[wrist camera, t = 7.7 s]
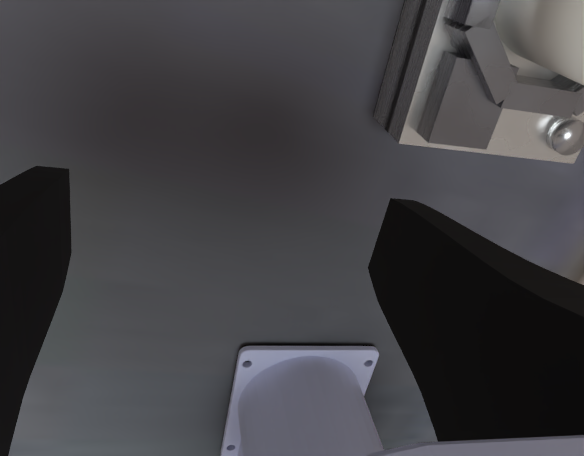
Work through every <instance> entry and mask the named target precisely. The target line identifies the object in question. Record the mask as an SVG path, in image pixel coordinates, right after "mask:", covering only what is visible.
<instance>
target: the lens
mask: <svg viewBox="0 0 584 456" xmlns="http://www.w3.org/2000/svg"><path fill="white" fill-rule="evenodd" d="M495 20H496V25H497V30H498V32H499V35H500V37H501V39H502V41H503V43H504V44H505V45H506V46H507V48H508V49H510V50H511V51H512V52H513V53H515V54H517V55H518V56H520V57H523V58H525V59H527V60H529V61H531V62H534V63H536V64H538V65H540V66H542V67H545V68H547V69H549V70H551V71H553V72H556V73H558V74H560V75H562V76H564V77H567V78H569V79H571V80H573V81H575V82H578V83H580V84H582V85H584V0H501V1H500V3H499V6H498V9H497V12H496V15H495Z"/></svg>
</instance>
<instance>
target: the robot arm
mask: <svg viewBox="0 0 584 456" xmlns="http://www.w3.org/2000/svg"><path fill="white" fill-rule="evenodd" d="M70 256H71V221H70V185H69V169H64V168H53V167H42V166H36V167H33V168H31V169H29V170H27V171H25V172H23V173H21V174H19V175H17V176H16V177H14V178H12V179H10V180H8V181H7V182H5V183H3V184H1V185H0V456H8V454H9V450H10V446H11V442H12V438H13V434H14V430H15V426H16V422H17V419H18V415H19V411H20V407H21V403H22V399H23V396H24V393H25V390H26V387H27V384H28V381H29V378H30V375H31V373H32V370H33V368H34V365H35V362H36V360H37V357H38V355H39V352H40V350H41V347H42V344H43V342H44V339H45V337H46V334H47V331H48V329H49V326H50V324H51V321H52V318H53V316H54V313H55V311H56V308H57V305H58V303H59V300H60V297H61V295H62V292H63V288H64V284H65V280H66V275H67V271H68V266H69V261H70ZM368 269H369V273H370V277H371V280H372V284H373V287H374V290H375V293H376V297H377V300H378V302H379V304H380V307H381V309H382V311H383V313H384V315H385V317H386V319H387V322H388V324H389V326H390V328H391V330H392V332H393V334H394V336H395V338H396V340H397V342H398V344H399V346H400V348H401V350H402V352H403V354H404V356H405V358H406V360H407V363H408V365H409V367H410V369H411V371H412V373H413V375H414V377H415V379H416V382H417V384H418V386H419V389H420V391H421V393H422V396H423V399H424V402H425V405H426V407H427V410H428V413H429V416H430V419H431V422H432V424H433V427H434V430H435V433H436V436H437V440H438V442H423V443H416V444H411V445H406V446H402V447H397V448H393V449H388V450H384V448H383V446H382V443H381V440H380V438H379V435H378V432H377V430H376V427H375V425H374V422H373V419H372V417H371V414H370V411H369V409H368V406H367V404H366V401H365V398H364V395H365V392H366V389H367V387H368V384H369V381H370V379H371V376H372V373H373V371H374V368H375V365H376V362H377V360H378V357H379V353H378V351H377V348H376V347H374V346H245V347H243V348H241V349H240V351H239V353H238V358H237V364H236V370H235V375H234V381H233V386H232V392H231V397H230V403H229V408H228V414H227V419H226V425H225V430H224V436H223V441H222V447H221V452H220V456H584V285H582V284H579V283H577V282H574V281H572V280H569V279H567V278H565V277H562V276H560V275H558V274H556V273H553V272H551V271H549V270H546V269H544V268H542V267H540V266H538V265H536V264H533V263H531V262H529V261H527V260H525V259H523V258H521V257H520V256H518V255H516V254H514V253H512V252H510V251H508V250H506V249H504V248H502V247H500V246H498V245H497V244H495V243H493V242H491V241H489V240H488V239H486V238H484V237H482V236H480V235H479V234H477V233H475V232H473V231H472V230H470V229H468V228H466V227H465V226H463V225H461V224H459V223H458V222H456V221H454V220H452V219H451V218H449V217H447V216H445V215H444V214H442V213H440V212H438V211H436V210H434V209H432V208H430V207H428V206H426V205H424V204H422V203H419V202H416V201H414V200H403V199H392V198H390V202H389V205H388V208H387V211H386V214H385V217H384V220H383V223H382V226H381V229H380V232H379V235H378V238H377V242H376V245H375V248H374V251H373V254H372V257H371V260H370V263H369V266H368ZM367 360H369V361H367ZM245 361H249V362H245Z"/></svg>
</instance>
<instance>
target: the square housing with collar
mask: <svg viewBox="0 0 584 456" xmlns="http://www.w3.org/2000/svg"><path fill="white" fill-rule="evenodd" d="M500 1H501V0H405V2H404V6H403V10H402V13H401V17H400V20H399V24H398V28H397V31H396V35H395V39H394V42H393V46H392V50H391V53H390V57H389V61H388V64H387V68H386V72H385V75H384V79H383V82H382V86H381V90H380V93H379V97H378V101H377V104H376V108H375V112H374V115H373V117H374V118H375V119H376V120H377V121H378V122H379V123H380V124H381V125H382V127H383V128H384V129H385V130H386V131H387V132H388V133H389V134H390V135H391V136H392V137H393V138H394V139H395V140H396V141H397V142H398V143H399V144H407V145H416V146H425V147H433V148H442V149H451V150H460V151H468V152H477V153H486V154H494V155H503V156H512V157H520V158H529V159H538V160H546V161H555V162H564V163H573V164H574V162H575V160H576V158H577V156H578V154H579V152H580V150H581V148H582V147H583V146H584V85H582V84H580V83H578V82H575V81H573V80H571V79H569V78H567V77H564V76H562V75H560V74H558V73H556V72H553V71H551V70H549V69H547V68H545V67H542V66H540V65H538V64H536V63H534V62H531V61H529V60H527V59H525V58H523V57H520V56H518V55H517V54H515V53H513V52H512V51H511V50H510V49H508V48H507V46H506V45H505V44H504V43H503V41H502V39H501V37H500V35H499V32H498V30H497V25H496V20H495V15H496V12H497V9H498V6H499V3H500Z"/></svg>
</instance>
